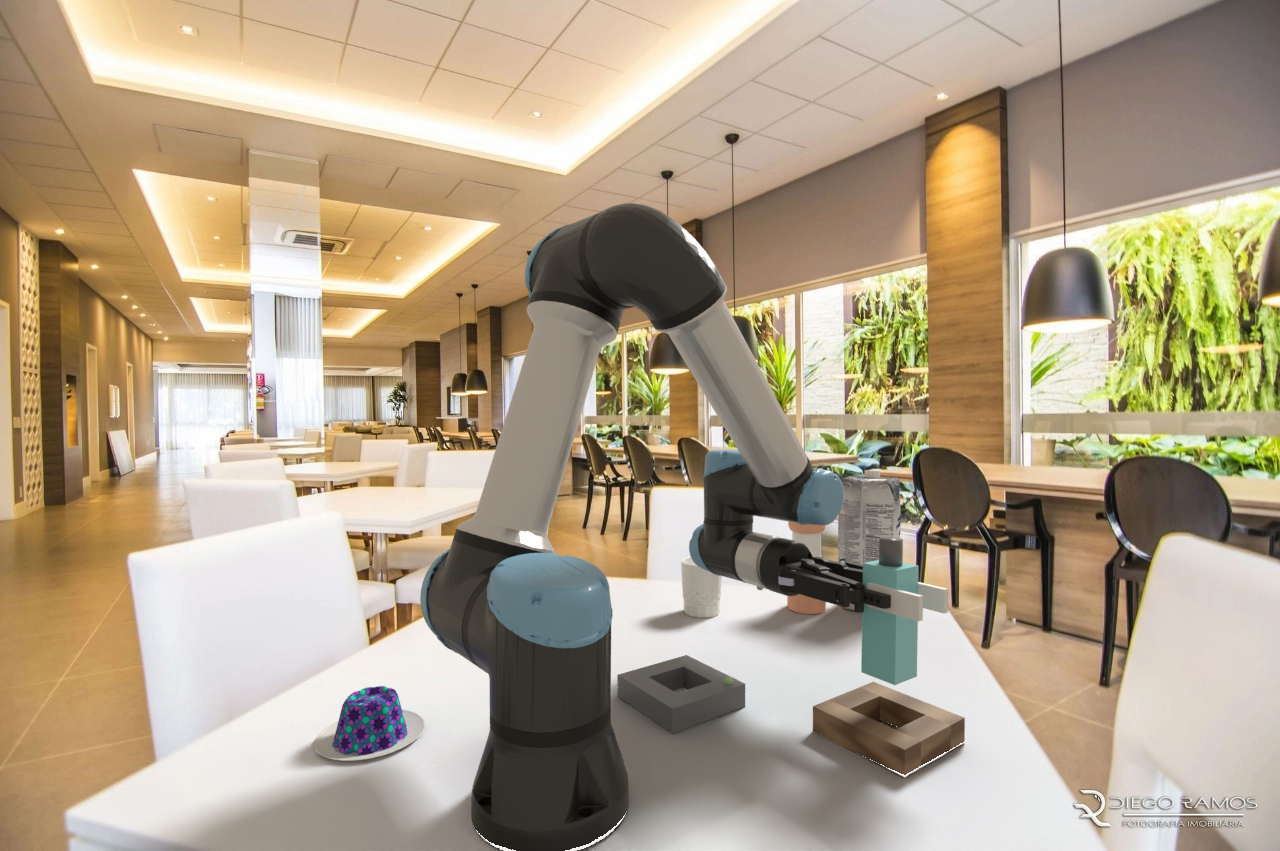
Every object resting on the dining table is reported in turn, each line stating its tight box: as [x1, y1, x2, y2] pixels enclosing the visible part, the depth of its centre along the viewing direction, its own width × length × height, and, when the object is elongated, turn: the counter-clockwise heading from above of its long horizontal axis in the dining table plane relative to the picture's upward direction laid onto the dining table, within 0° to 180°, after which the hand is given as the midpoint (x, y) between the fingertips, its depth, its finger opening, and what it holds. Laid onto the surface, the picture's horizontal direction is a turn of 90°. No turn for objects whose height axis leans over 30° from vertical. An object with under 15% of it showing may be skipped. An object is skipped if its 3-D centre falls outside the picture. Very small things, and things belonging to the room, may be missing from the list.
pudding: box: [314, 685, 426, 762], centre depth 74 cm, size 12×12×5 cm
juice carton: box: [837, 469, 901, 611], centre depth 123 cm, size 9×10×27 cm
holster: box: [812, 681, 966, 775], centre depth 74 cm, size 12×12×3 cm
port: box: [616, 654, 746, 734], centre depth 83 cm, size 12×12×4 cm
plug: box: [860, 537, 920, 686], centre depth 74 cm, size 4×4×16 cm
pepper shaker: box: [786, 522, 827, 615], centre depth 123 cm, size 7×7×19 cm
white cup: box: [680, 556, 723, 619], centre depth 121 cm, size 8×8×10 cm
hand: (933, 604), depth 70 cm, fingers closed on plug, 4 cm apart
